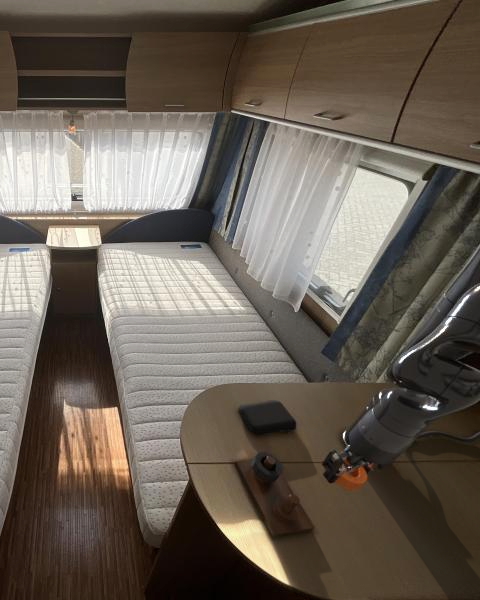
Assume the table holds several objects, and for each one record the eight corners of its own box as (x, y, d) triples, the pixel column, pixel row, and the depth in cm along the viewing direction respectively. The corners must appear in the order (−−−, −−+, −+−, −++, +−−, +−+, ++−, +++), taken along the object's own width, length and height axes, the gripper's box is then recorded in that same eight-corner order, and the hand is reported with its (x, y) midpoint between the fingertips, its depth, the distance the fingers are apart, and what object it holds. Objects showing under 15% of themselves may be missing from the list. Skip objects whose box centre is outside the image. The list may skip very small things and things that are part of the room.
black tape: (268, 456, 88) (272, 450, 86) (283, 480, 83) (288, 474, 81) (246, 459, 87) (250, 453, 85) (260, 483, 82) (264, 477, 80)
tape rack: (268, 459, 91) (279, 442, 86) (312, 530, 77) (327, 515, 72) (234, 464, 90) (243, 447, 85) (271, 537, 76) (285, 522, 71)
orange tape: (345, 460, 76) (351, 453, 75) (367, 488, 71) (374, 481, 70) (320, 463, 76) (326, 456, 74) (341, 492, 71) (347, 485, 69)
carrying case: (254, 441, 95) (300, 433, 97) (257, 435, 93) (304, 427, 95) (233, 410, 104) (276, 403, 106) (236, 403, 102) (280, 396, 104)
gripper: (365, 457, 60) (324, 499, 70) (434, 447, 62) (385, 490, 72) (334, 421, 66) (300, 464, 76) (398, 413, 68) (357, 456, 78)
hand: (341, 476), depth 74 cm, fingers closed on orange tape, 6 cm apart
